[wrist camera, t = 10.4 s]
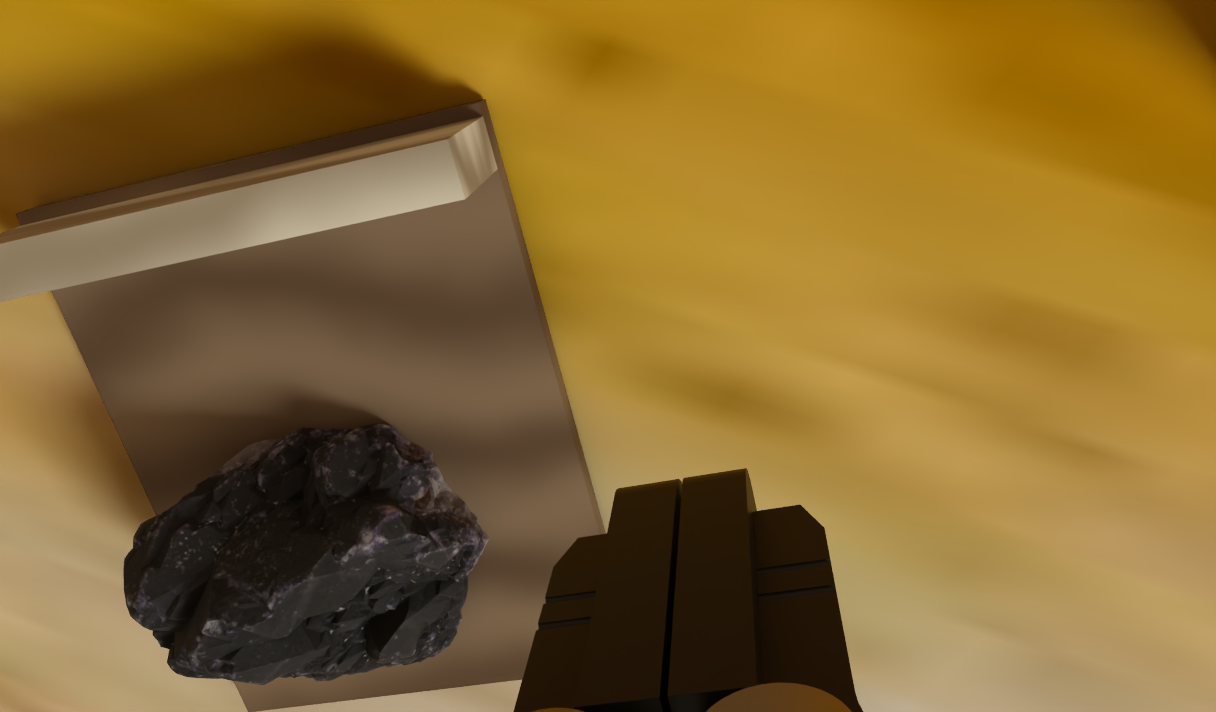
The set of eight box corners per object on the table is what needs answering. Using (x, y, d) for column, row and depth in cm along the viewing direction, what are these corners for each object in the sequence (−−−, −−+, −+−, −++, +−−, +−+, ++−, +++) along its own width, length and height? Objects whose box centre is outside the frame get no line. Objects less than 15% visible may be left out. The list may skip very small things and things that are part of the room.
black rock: (555, 538, 44) (515, 659, 34) (367, 706, 47) (282, 860, 38) (342, 334, 42) (238, 402, 33) (163, 523, 46) (20, 635, 36)
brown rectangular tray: (638, 651, 45) (626, 747, 39) (257, 698, 49) (198, 792, 43) (485, 98, 36) (442, 123, 30) (31, 208, 40) (-79, 247, 34)
